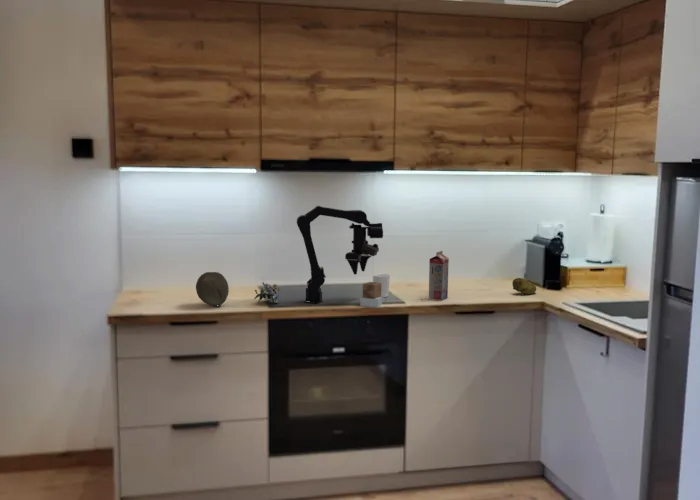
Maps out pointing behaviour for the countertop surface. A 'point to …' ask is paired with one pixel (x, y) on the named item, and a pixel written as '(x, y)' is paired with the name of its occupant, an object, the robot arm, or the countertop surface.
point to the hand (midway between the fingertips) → (359, 272)
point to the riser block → (371, 302)
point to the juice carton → (438, 277)
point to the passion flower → (268, 292)
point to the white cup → (382, 283)
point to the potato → (523, 286)
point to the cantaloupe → (212, 288)
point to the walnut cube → (371, 290)
